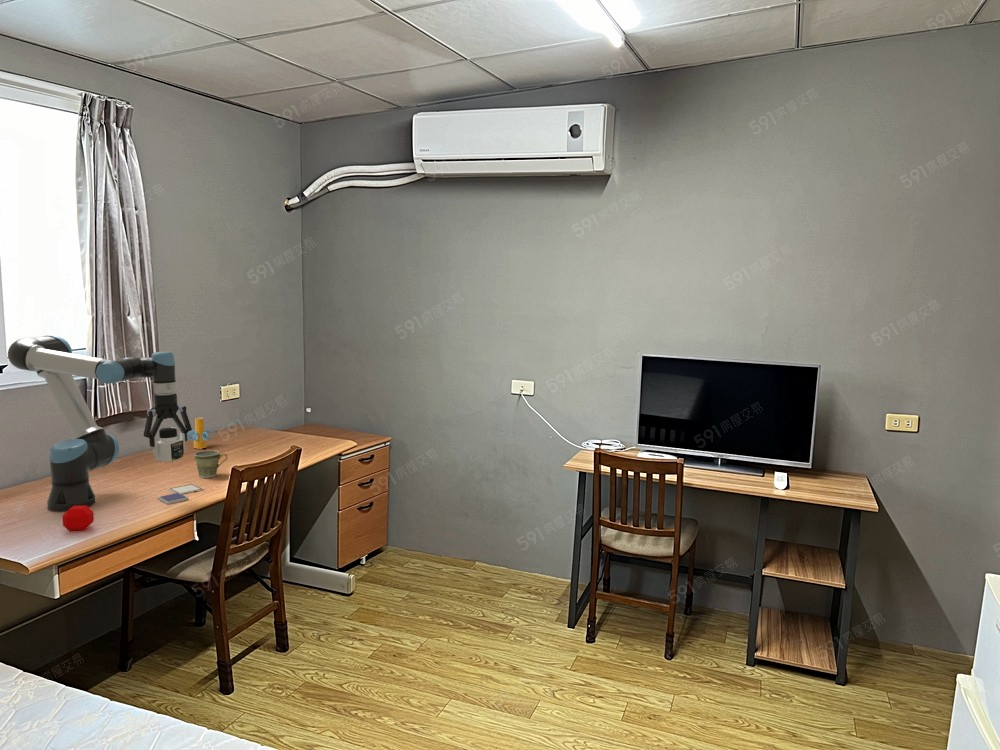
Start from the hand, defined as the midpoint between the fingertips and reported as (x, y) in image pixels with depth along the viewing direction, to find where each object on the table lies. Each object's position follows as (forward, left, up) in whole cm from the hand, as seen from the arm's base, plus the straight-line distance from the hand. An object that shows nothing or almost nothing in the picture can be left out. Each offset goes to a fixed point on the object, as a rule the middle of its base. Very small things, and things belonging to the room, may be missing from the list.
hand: (169, 452), depth 267 cm
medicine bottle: (0, 0, -3) cm, 3 cm away
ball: (-35, -10, -19) cm, 41 cm away
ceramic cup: (+26, +21, -19) cm, 38 cm away
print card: (+10, +9, -18) cm, 22 cm away
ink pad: (+1, 0, -18) cm, 18 cm away
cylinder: (+45, +71, -19) cm, 86 cm away
